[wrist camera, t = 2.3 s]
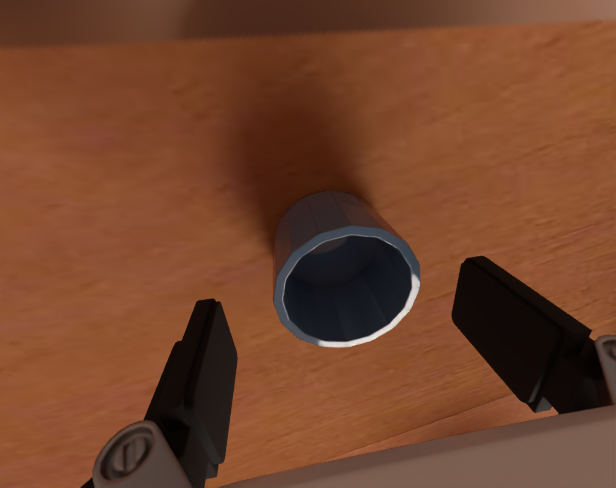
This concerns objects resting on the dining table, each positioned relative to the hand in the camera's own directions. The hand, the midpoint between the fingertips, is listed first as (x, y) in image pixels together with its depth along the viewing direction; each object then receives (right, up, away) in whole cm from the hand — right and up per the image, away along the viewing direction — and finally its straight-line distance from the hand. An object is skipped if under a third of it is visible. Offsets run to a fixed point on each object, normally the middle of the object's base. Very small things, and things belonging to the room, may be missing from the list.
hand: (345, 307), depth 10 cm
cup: (0, +3, +4) cm, 5 cm away
